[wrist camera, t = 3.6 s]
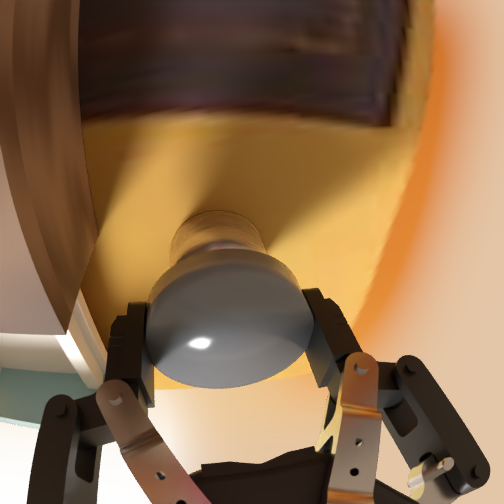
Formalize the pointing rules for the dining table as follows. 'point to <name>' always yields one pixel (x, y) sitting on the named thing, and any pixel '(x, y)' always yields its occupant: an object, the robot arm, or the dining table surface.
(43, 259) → the housing
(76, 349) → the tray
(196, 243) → the shiny metal cylinder
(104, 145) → the dining table surface
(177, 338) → the grey domed disc
